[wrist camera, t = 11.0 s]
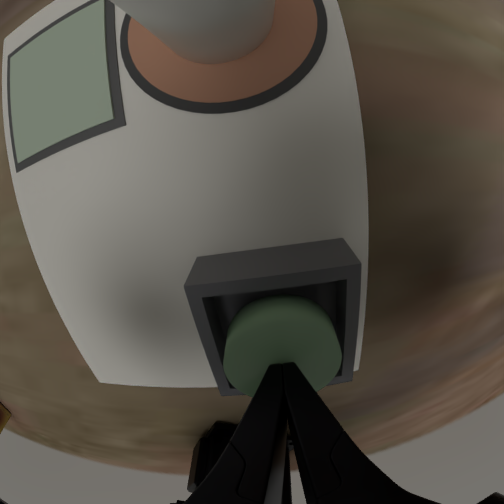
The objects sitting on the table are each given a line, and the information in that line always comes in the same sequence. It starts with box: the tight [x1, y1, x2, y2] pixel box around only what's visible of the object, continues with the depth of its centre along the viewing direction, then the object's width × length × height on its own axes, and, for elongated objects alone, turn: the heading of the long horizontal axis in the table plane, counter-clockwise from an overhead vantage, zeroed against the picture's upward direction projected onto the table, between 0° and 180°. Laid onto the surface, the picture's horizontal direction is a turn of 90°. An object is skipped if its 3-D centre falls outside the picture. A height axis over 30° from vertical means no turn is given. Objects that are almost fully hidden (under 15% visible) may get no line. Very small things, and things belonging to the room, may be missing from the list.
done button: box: [223, 294, 342, 397], centre depth 10 cm, size 4×4×2 cm
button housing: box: [184, 238, 362, 396], centre depth 11 cm, size 6×6×2 cm
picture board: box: [2, 0, 369, 387], centre depth 10 cm, size 22×16×1 cm
